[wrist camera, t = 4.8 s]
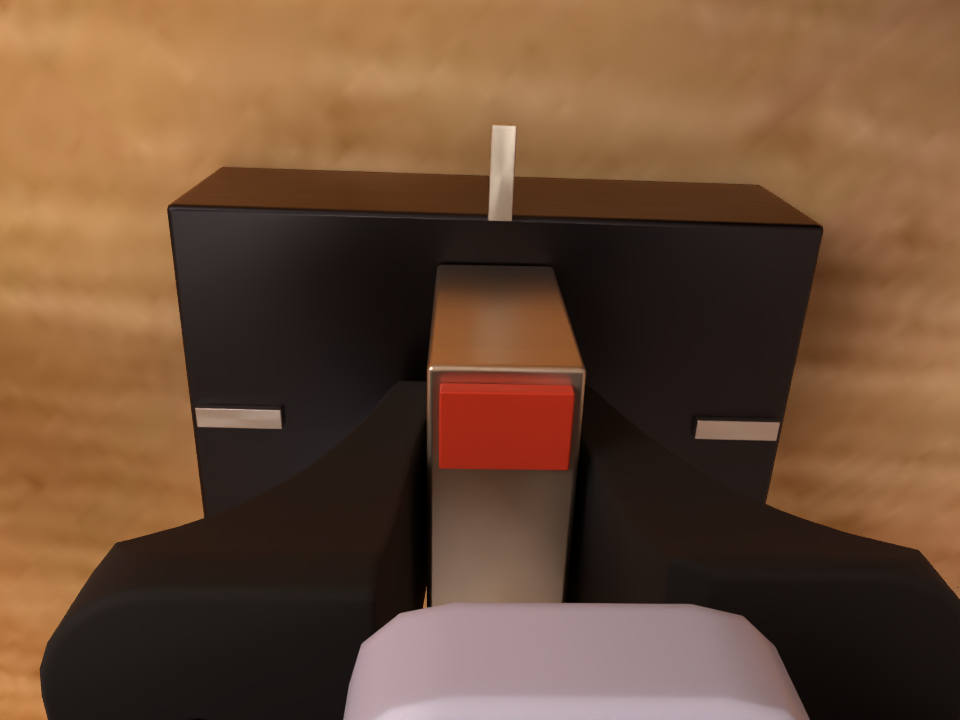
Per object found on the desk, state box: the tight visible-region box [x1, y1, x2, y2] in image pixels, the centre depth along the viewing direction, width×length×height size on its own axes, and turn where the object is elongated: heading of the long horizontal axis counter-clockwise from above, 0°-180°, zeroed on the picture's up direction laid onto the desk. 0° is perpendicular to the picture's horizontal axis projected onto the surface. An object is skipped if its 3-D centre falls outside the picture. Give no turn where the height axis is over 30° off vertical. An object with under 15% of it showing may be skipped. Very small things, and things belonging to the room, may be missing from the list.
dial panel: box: [167, 123, 823, 518], centre depth 15 cm, size 10×10×3 cm
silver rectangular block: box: [427, 265, 586, 608], centre depth 12 cm, size 6×2×4 cm, turn 179°
